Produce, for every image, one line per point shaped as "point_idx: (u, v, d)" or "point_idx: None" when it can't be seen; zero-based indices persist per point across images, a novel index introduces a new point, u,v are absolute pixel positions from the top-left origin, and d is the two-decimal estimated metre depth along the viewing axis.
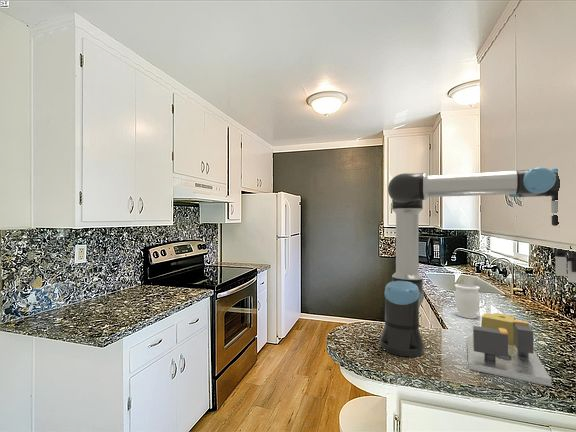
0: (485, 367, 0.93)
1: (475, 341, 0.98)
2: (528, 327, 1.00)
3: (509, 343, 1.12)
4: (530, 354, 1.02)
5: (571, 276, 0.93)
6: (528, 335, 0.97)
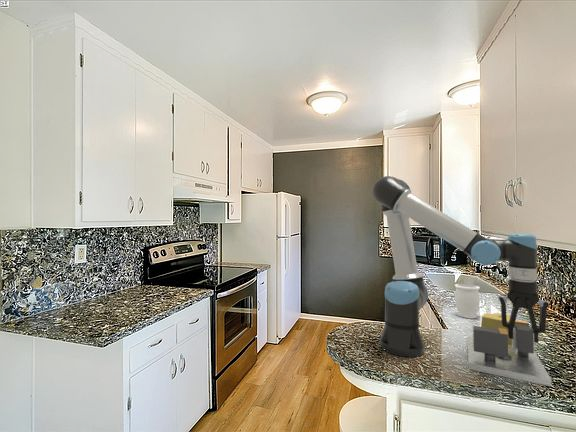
0: (485, 367, 0.93)
1: (475, 341, 0.98)
2: (528, 327, 1.00)
3: (509, 343, 1.12)
4: (530, 354, 1.02)
5: (512, 341, 1.03)
6: (528, 335, 0.97)
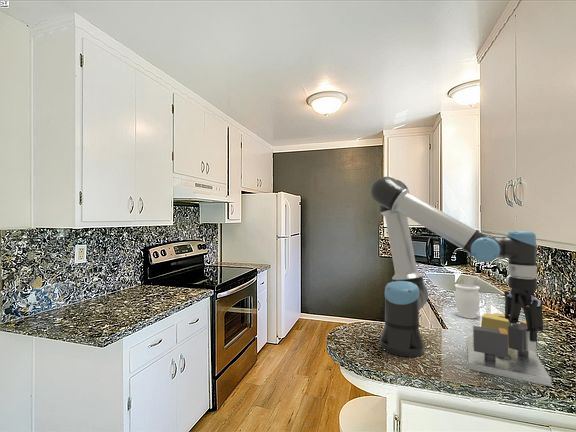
0: (485, 367, 0.93)
1: (475, 341, 0.98)
2: (526, 327, 1.00)
3: None
4: (530, 354, 1.02)
5: None
6: (517, 334, 0.99)
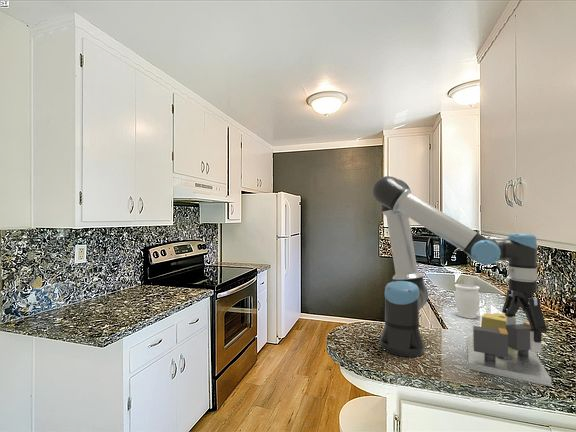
0: (485, 367, 0.93)
1: (475, 341, 0.98)
2: (525, 327, 1.00)
3: None
4: (530, 354, 1.02)
5: None
6: (513, 332, 1.00)
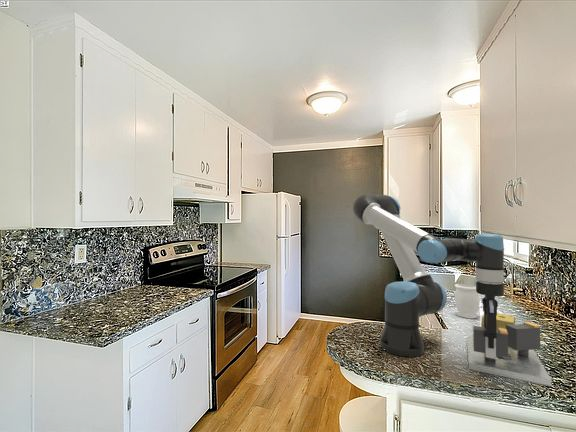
0: (485, 367, 0.93)
1: (475, 341, 0.98)
2: (525, 327, 1.00)
3: None
4: (530, 354, 1.02)
5: (487, 351, 0.95)
6: (513, 332, 1.00)
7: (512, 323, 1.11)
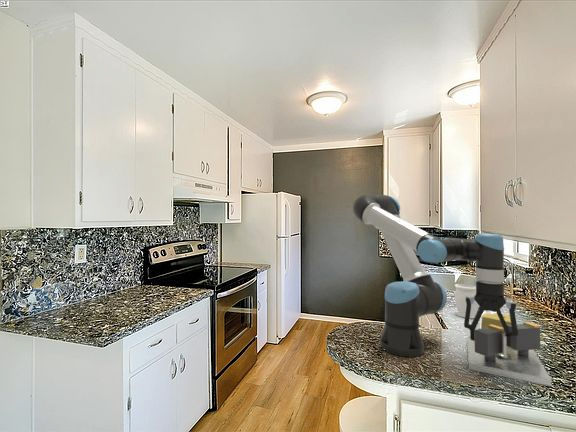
0: (485, 367, 0.93)
1: (488, 346, 0.94)
2: (525, 327, 1.00)
3: None
4: (530, 354, 1.02)
5: None
6: None
7: None
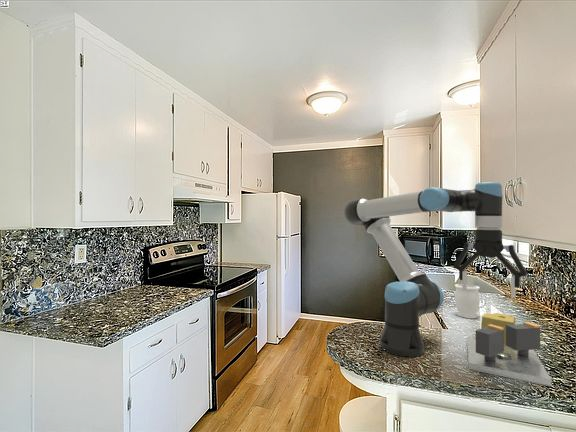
0: (485, 367, 0.93)
1: (489, 346, 0.94)
2: (525, 327, 1.00)
3: None
4: (530, 354, 1.02)
5: (514, 291, 0.94)
6: (513, 332, 1.00)
7: (512, 323, 1.11)
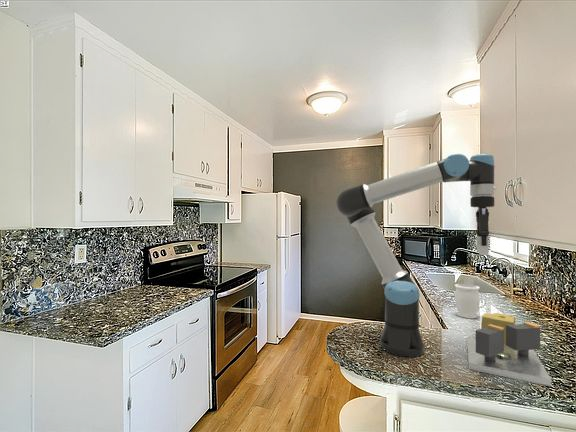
0: (485, 367, 0.93)
1: (489, 346, 0.94)
2: (525, 327, 1.00)
3: None
4: (530, 354, 1.02)
5: (481, 249, 1.07)
6: (513, 332, 1.00)
7: (512, 323, 1.11)
